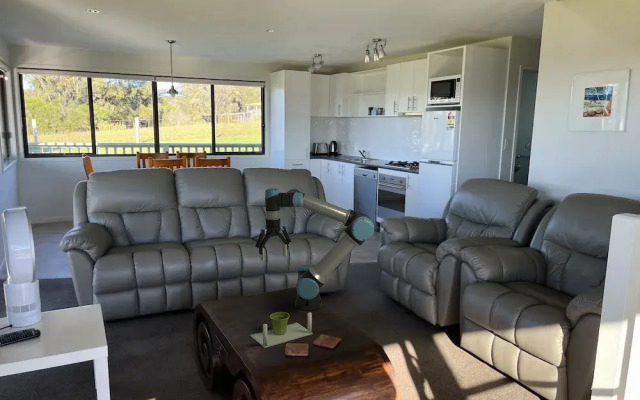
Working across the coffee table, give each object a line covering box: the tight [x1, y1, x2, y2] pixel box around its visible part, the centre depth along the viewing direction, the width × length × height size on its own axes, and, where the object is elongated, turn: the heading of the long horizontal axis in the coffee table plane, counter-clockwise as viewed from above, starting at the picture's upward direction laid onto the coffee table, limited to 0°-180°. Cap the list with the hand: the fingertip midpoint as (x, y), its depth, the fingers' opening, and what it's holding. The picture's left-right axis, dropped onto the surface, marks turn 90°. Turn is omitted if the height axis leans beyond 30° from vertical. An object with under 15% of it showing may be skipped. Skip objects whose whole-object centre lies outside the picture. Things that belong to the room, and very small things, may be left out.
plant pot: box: [269, 311, 290, 335], centre depth 220 cm, size 9×9×9 cm
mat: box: [249, 311, 313, 349], centre depth 218 cm, size 26×15×10 cm, turn 124°
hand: (273, 258), depth 239 cm, fingers open, 13 cm apart
